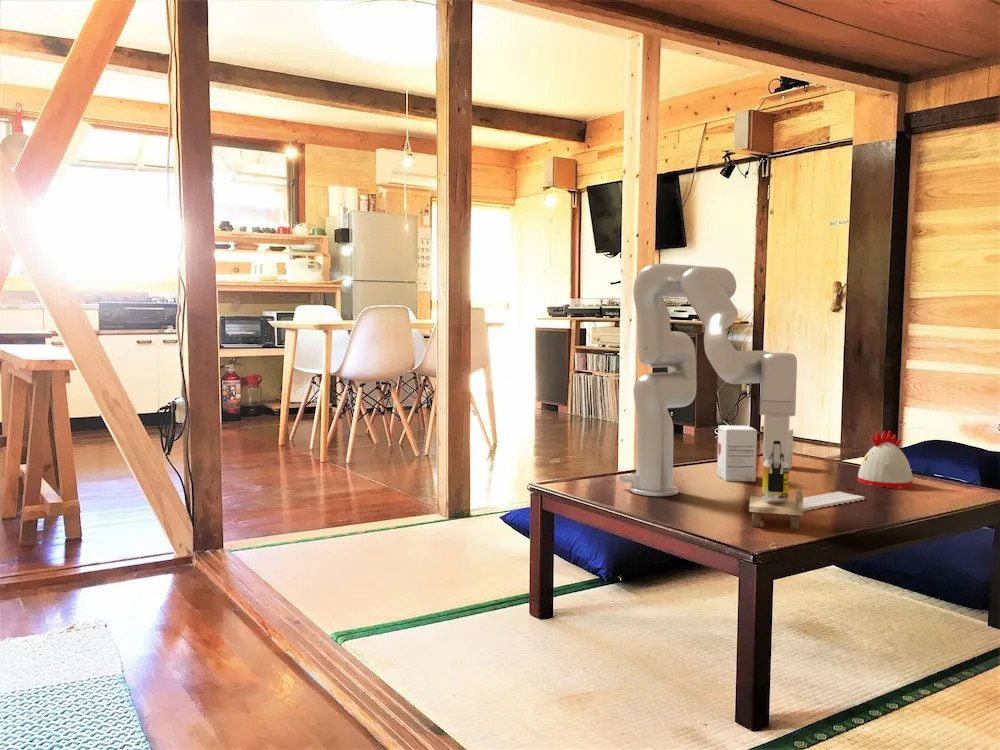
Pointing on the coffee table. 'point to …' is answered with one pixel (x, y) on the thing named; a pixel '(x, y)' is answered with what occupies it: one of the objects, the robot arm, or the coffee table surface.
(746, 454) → the supplement box
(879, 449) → the kitchen timer
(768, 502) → the shelf
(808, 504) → the baseboard
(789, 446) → the cup
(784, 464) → the supplement bottle
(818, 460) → the coffee table surface
